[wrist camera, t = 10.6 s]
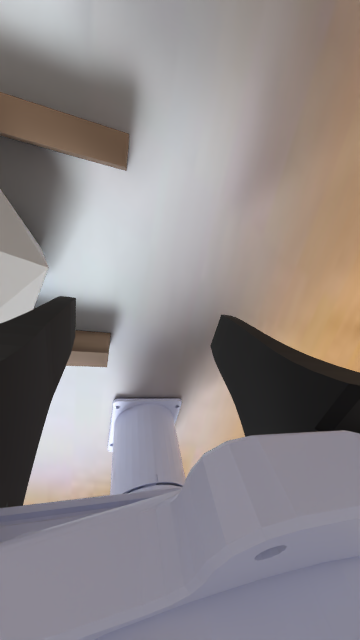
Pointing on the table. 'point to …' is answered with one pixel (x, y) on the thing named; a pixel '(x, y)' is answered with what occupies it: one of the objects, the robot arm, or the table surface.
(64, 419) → the table surface
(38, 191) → the table surface
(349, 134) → the table surface
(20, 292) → the die
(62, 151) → the wooden tray
